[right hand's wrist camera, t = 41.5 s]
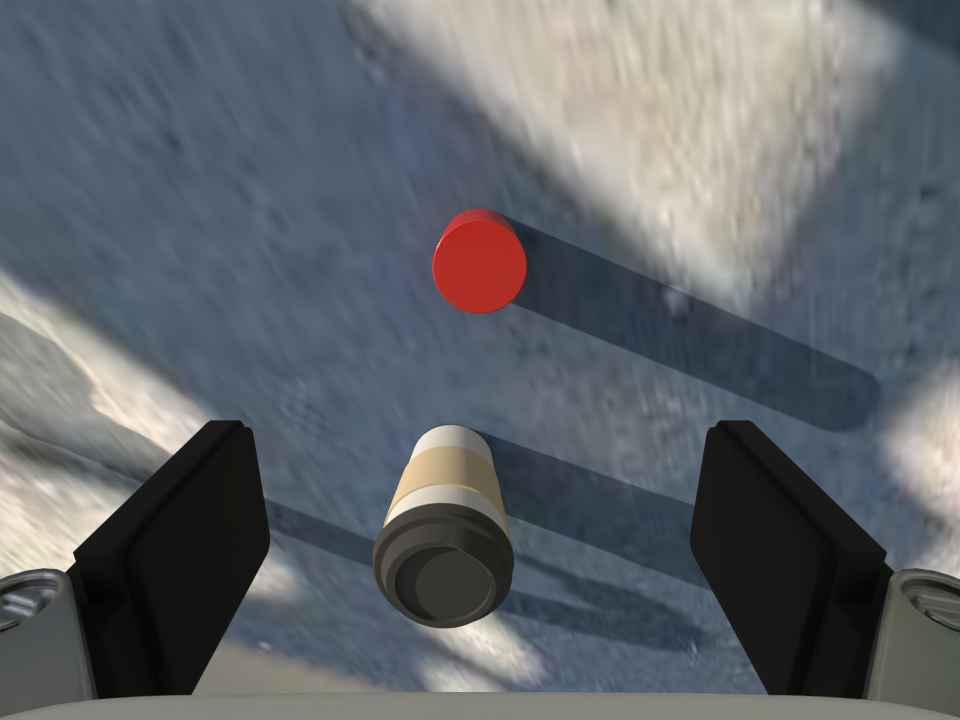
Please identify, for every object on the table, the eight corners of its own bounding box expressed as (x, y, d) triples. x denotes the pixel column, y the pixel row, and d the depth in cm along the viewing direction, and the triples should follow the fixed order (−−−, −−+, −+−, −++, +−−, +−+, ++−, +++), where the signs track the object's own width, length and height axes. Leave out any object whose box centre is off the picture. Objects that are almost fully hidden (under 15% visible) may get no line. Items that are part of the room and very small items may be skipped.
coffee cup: (456, 522, 49) (447, 670, 35) (378, 463, 46) (334, 595, 32) (527, 457, 46) (547, 588, 32) (448, 392, 44) (433, 501, 30)
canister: (507, 294, 42) (513, 323, 34) (433, 277, 41) (424, 302, 34) (527, 219, 40) (538, 232, 32) (450, 200, 39) (443, 209, 32)
